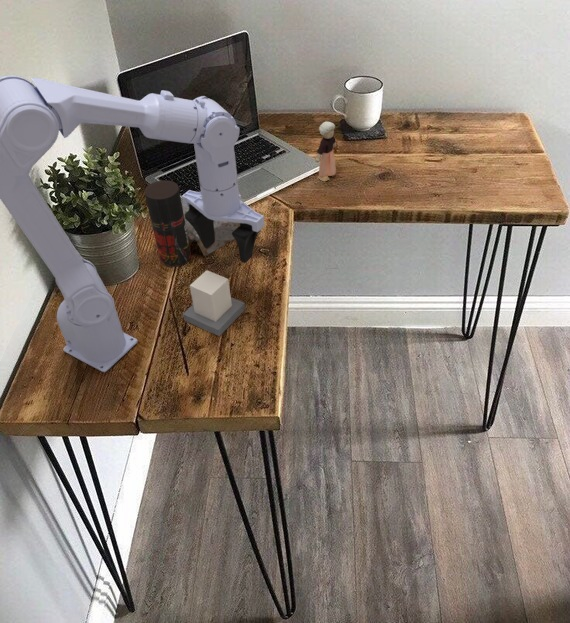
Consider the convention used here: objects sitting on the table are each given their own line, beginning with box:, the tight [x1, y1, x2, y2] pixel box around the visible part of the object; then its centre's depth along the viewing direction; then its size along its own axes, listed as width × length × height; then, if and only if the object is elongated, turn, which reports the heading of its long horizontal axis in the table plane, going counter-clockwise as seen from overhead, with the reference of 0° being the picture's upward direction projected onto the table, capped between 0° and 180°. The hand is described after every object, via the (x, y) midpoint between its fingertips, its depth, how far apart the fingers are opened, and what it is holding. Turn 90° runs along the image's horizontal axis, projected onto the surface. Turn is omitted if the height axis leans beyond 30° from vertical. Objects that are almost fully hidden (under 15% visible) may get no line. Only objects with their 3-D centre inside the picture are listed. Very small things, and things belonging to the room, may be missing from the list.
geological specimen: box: [182, 199, 249, 257], centre depth 124 cm, size 11×6×15 cm
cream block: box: [189, 269, 232, 322], centre depth 105 cm, size 4×4×6 cm
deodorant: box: [143, 179, 192, 268], centre depth 115 cm, size 6×6×15 cm
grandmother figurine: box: [314, 121, 337, 182], centre depth 134 cm, size 8×4×13 cm, turn 158°
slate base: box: [182, 296, 246, 337], centre depth 108 cm, size 8×8×2 cm
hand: (227, 251), depth 105 cm, fingers open, 7 cm apart
